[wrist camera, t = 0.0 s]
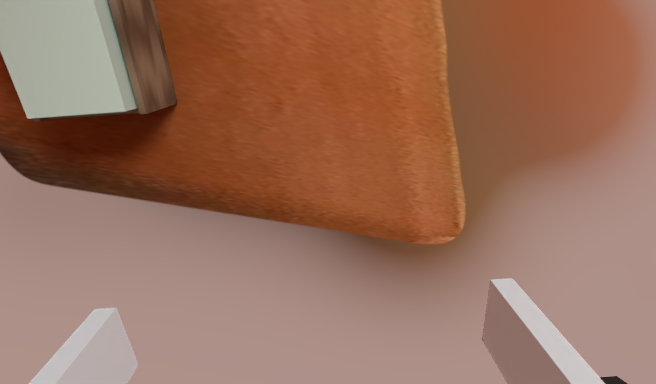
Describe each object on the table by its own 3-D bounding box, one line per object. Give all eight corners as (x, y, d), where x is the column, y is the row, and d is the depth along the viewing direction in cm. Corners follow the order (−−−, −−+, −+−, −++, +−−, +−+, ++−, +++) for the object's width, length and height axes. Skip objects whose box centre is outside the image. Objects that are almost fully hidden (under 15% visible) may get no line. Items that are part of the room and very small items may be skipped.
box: (32, -45, 31) (-44, -72, 24) (141, -53, 31) (94, -82, 24) (84, 110, 36) (33, 122, 29) (177, 103, 36) (146, 113, 29)
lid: (-16, -60, 25) (-49, -72, 23) (92, -68, 25) (70, -80, 23) (49, 113, 30) (27, 118, 28) (140, 107, 30) (125, 111, 28)
